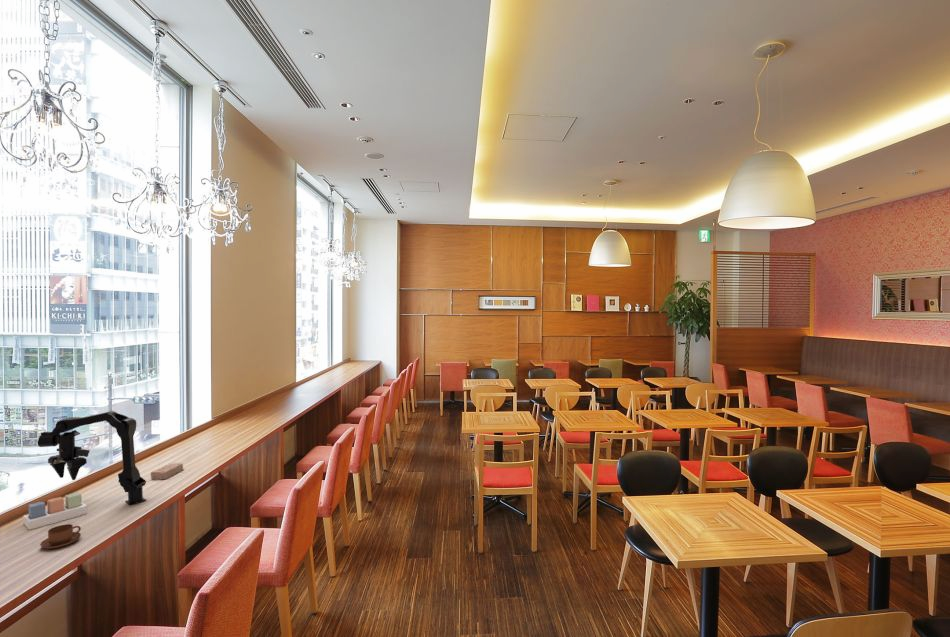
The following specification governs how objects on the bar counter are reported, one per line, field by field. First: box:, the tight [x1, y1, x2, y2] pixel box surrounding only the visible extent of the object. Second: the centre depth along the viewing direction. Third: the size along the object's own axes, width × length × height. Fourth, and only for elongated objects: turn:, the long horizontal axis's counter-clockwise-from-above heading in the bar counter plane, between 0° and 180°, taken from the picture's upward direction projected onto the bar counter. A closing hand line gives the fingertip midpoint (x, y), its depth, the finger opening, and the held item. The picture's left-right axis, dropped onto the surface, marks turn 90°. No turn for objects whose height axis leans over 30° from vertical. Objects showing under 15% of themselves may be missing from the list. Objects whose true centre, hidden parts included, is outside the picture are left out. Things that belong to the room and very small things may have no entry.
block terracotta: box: [46, 496, 65, 514], centre depth 211 cm, size 5×5×6 cm
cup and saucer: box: [39, 523, 82, 550], centre depth 187 cm, size 12×12×6 cm
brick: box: [150, 462, 184, 480], centre depth 266 cm, size 16×8×5 cm, turn 1°
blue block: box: [27, 501, 46, 520], centre depth 206 cm, size 5×5×6 cm
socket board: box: [23, 502, 88, 530], centre depth 211 cm, size 10×19×4 cm, turn 144°
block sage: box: [64, 491, 83, 509], centre depth 216 cm, size 5×5×6 cm
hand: (67, 478), depth 223 cm, fingers open, 9 cm apart
